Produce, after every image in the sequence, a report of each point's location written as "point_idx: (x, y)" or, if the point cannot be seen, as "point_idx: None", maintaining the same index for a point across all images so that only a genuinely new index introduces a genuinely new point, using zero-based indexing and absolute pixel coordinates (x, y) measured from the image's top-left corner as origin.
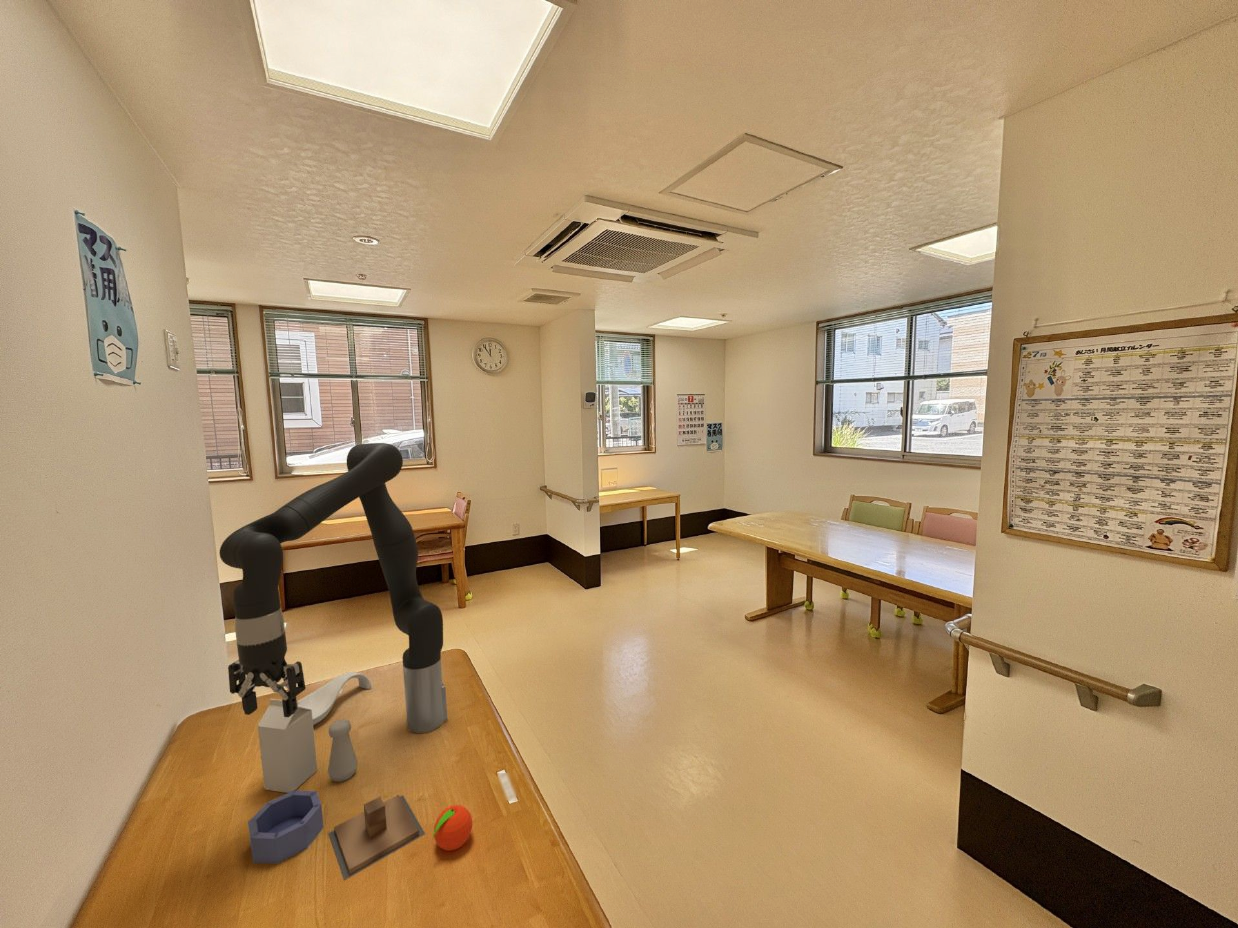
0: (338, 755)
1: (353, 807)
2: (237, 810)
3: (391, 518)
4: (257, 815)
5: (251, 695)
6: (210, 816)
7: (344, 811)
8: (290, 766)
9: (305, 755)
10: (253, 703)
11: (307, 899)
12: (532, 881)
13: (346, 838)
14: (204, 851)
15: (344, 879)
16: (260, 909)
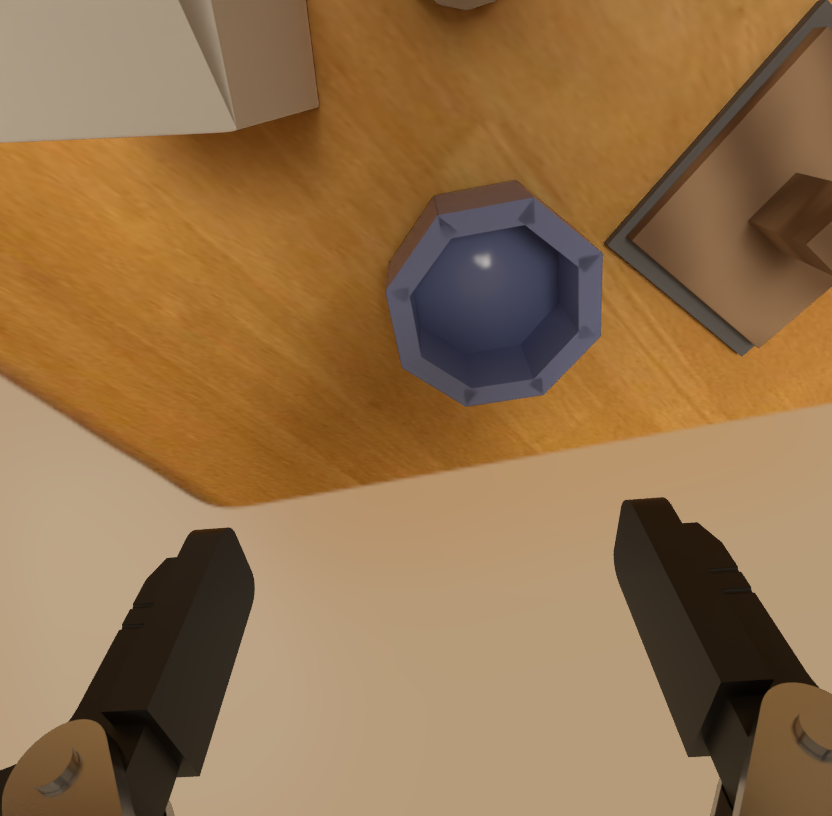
0: None
1: (621, 109)
2: (208, 226)
3: None
4: (407, 342)
5: (182, 724)
6: (152, 266)
7: (596, 136)
8: (297, 104)
9: None
10: (212, 608)
11: (664, 399)
12: None
13: (698, 267)
14: (286, 360)
15: (741, 355)
16: (571, 434)
